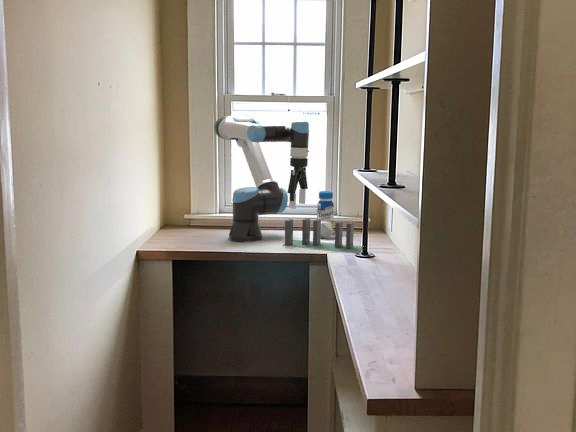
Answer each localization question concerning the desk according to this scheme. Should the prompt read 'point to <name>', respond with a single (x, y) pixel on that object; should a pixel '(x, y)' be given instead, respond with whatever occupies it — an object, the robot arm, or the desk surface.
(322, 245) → the mat
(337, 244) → the domino
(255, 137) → the robot arm
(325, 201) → the beverage bottle
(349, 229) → the domino
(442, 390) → the desk surface
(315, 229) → the domino
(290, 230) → the domino
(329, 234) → the die
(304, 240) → the domino
